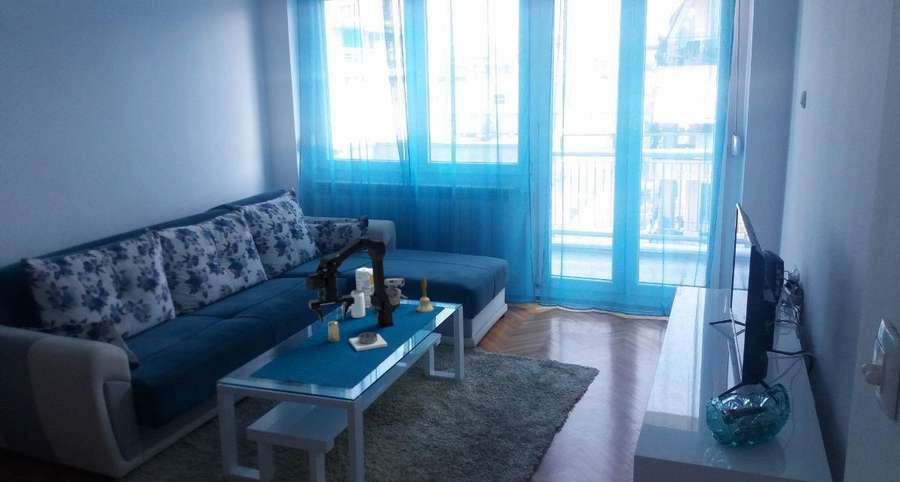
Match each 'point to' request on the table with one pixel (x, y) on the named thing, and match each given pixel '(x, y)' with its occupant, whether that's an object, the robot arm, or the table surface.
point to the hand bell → (424, 299)
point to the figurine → (395, 290)
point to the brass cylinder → (333, 331)
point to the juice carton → (365, 284)
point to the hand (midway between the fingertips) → (333, 321)
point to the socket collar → (367, 338)
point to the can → (358, 304)
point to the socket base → (367, 346)
